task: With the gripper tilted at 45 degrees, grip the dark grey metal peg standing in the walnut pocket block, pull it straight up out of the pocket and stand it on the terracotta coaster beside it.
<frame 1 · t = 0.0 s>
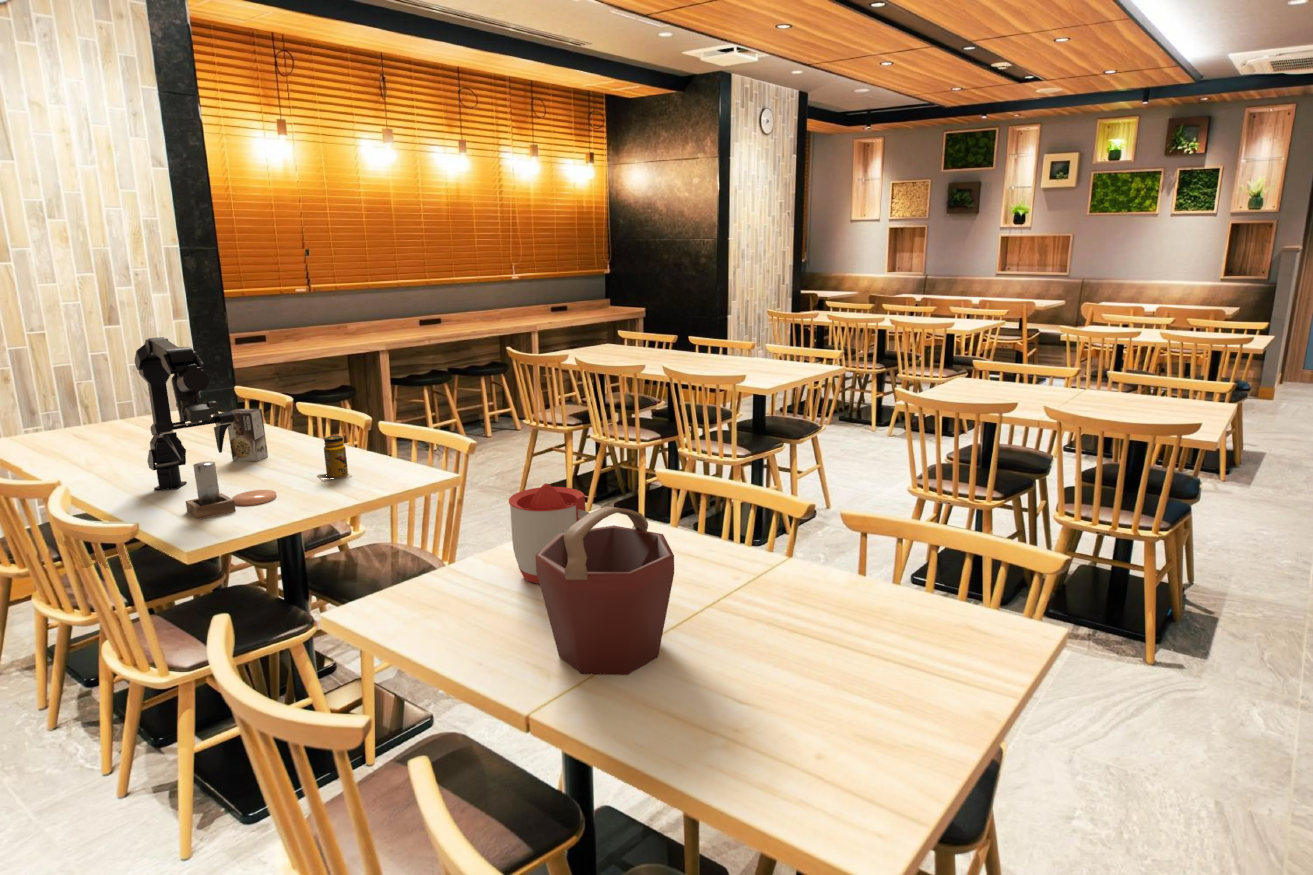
hand: (201, 456, 213), 15 cm above the table, tool pointing down, fingers open, 9 cm apart
citrus juicer: (554, 575, 174), on the table
condiment: (334, 477, 249), on the table
peg: (207, 487, 217), in the pocket block
pocket block: (211, 511, 218), on the table
coffee box: (250, 459, 271), on the table
bucket: (606, 651, 142), on the table
coaster: (254, 499, 228), on the table
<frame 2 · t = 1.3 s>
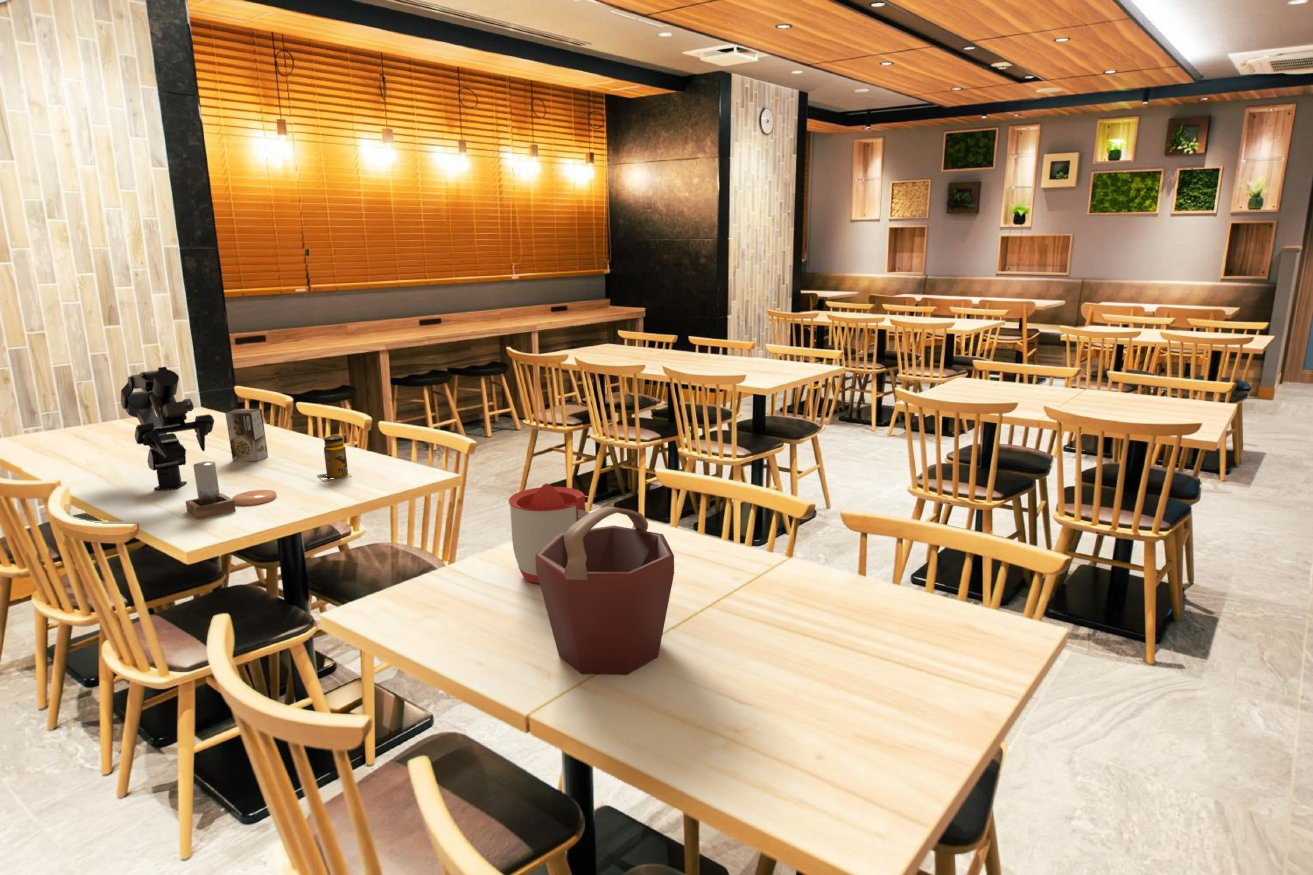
hand: (185, 453, 224), 13 cm above the table, tool tilted 45°, fingers open, 9 cm apart
nothing on the table moved.
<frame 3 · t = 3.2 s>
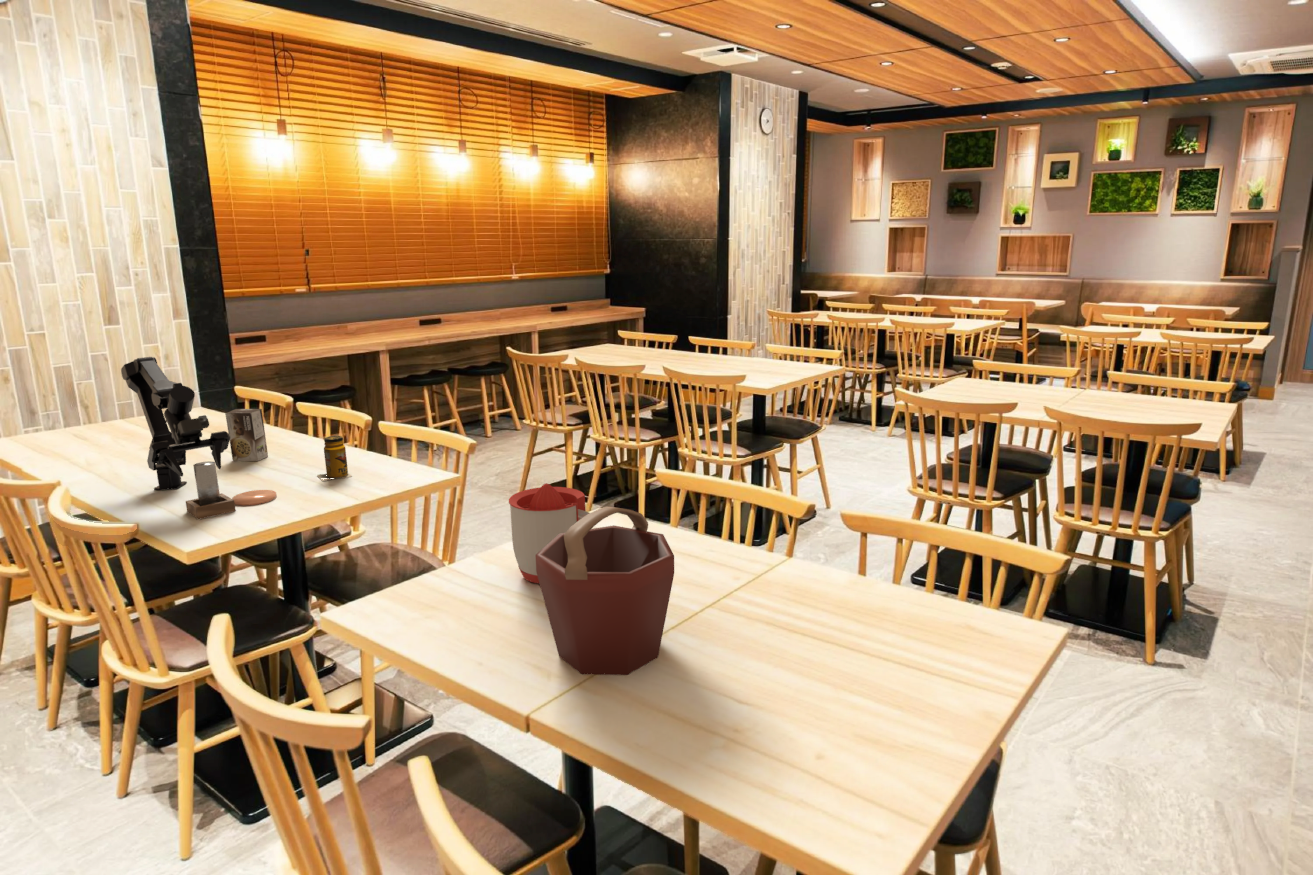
hand: (201, 471, 218), 10 cm above the table, tool tilted 45°, fingers open, 9 cm apart
nothing on the table moved.
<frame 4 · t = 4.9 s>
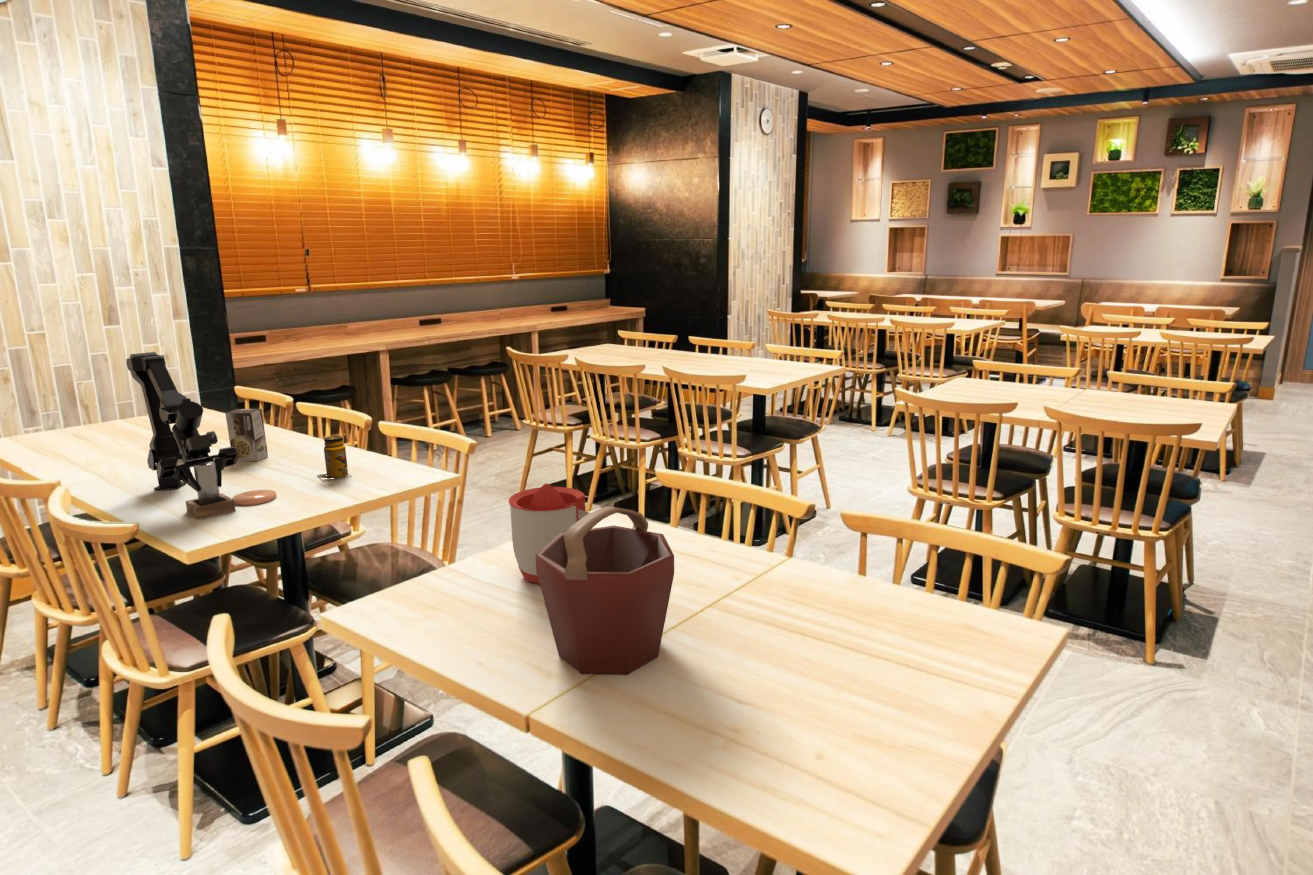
hand: (209, 488, 216), 7 cm above the table, tool tilted 45°, fingers closed on peg, 5 cm apart
peg: (207, 487, 217), in the pocket block, touching gripper
everything else where it was.
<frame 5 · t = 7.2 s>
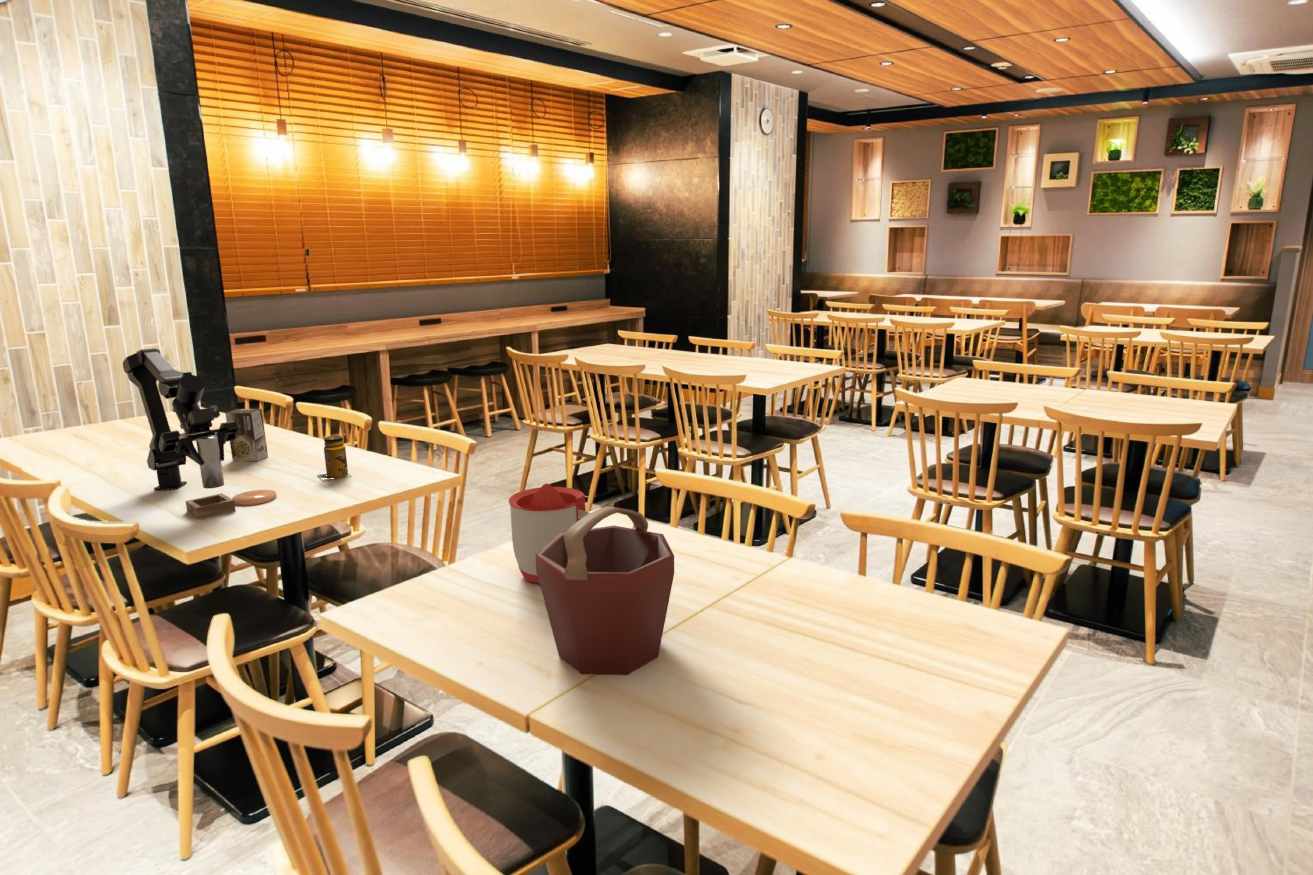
hand: (212, 462, 215), 13 cm above the table, tool tilted 45°, fingers closed on peg, 5 cm apart
peg: (210, 461, 216), point 13 cm above the table, touching gripper
everything else where it was.
when the fingers open (8 cm above the table, at t = 9.5 s): peg stays where it is, resting on coaster.
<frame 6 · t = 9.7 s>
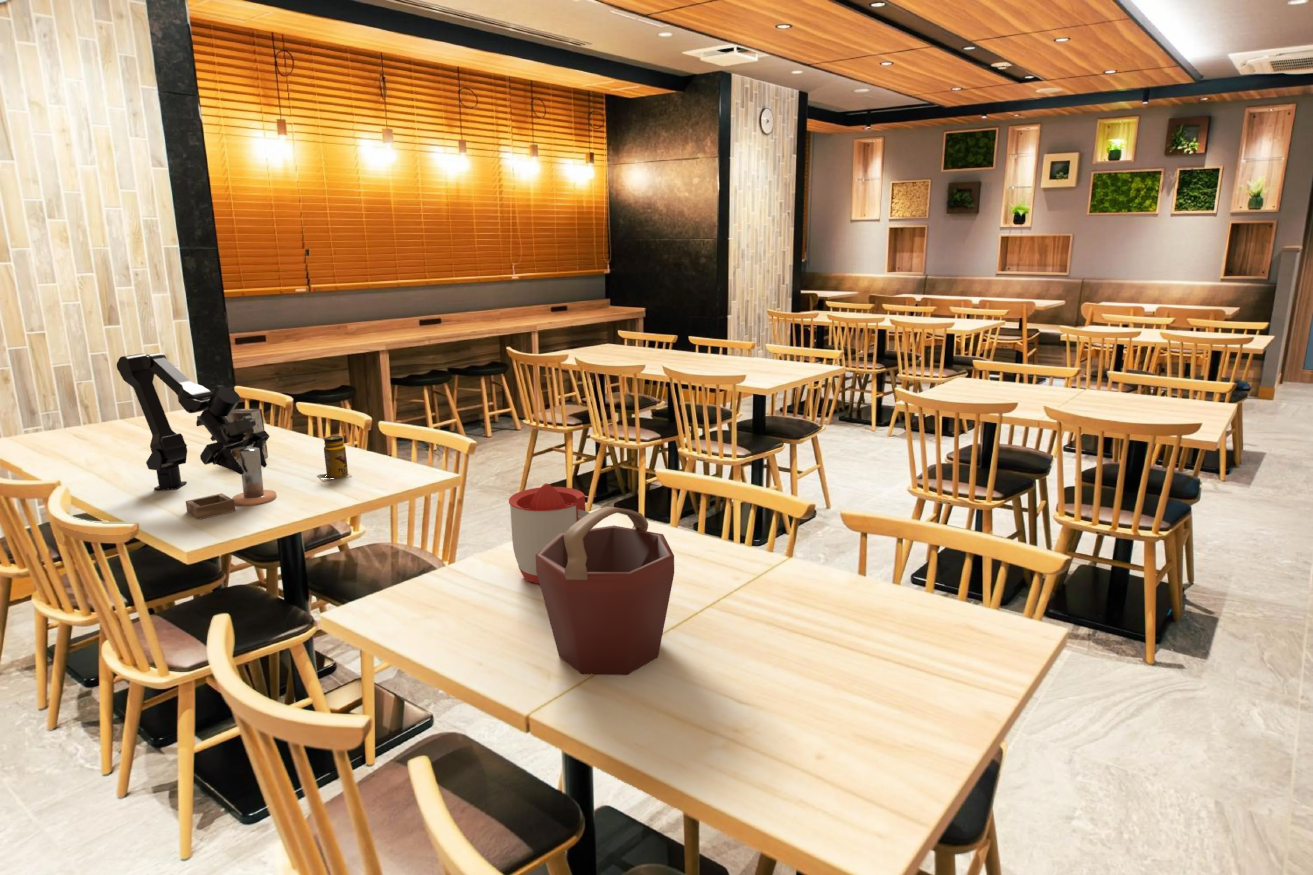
hand: (254, 469, 225), 9 cm above the table, tool tilted 45°, fingers open, 7 cm apart
peg: (251, 472, 226), on the coaster, point 8 cm above the table
everything else where it was.
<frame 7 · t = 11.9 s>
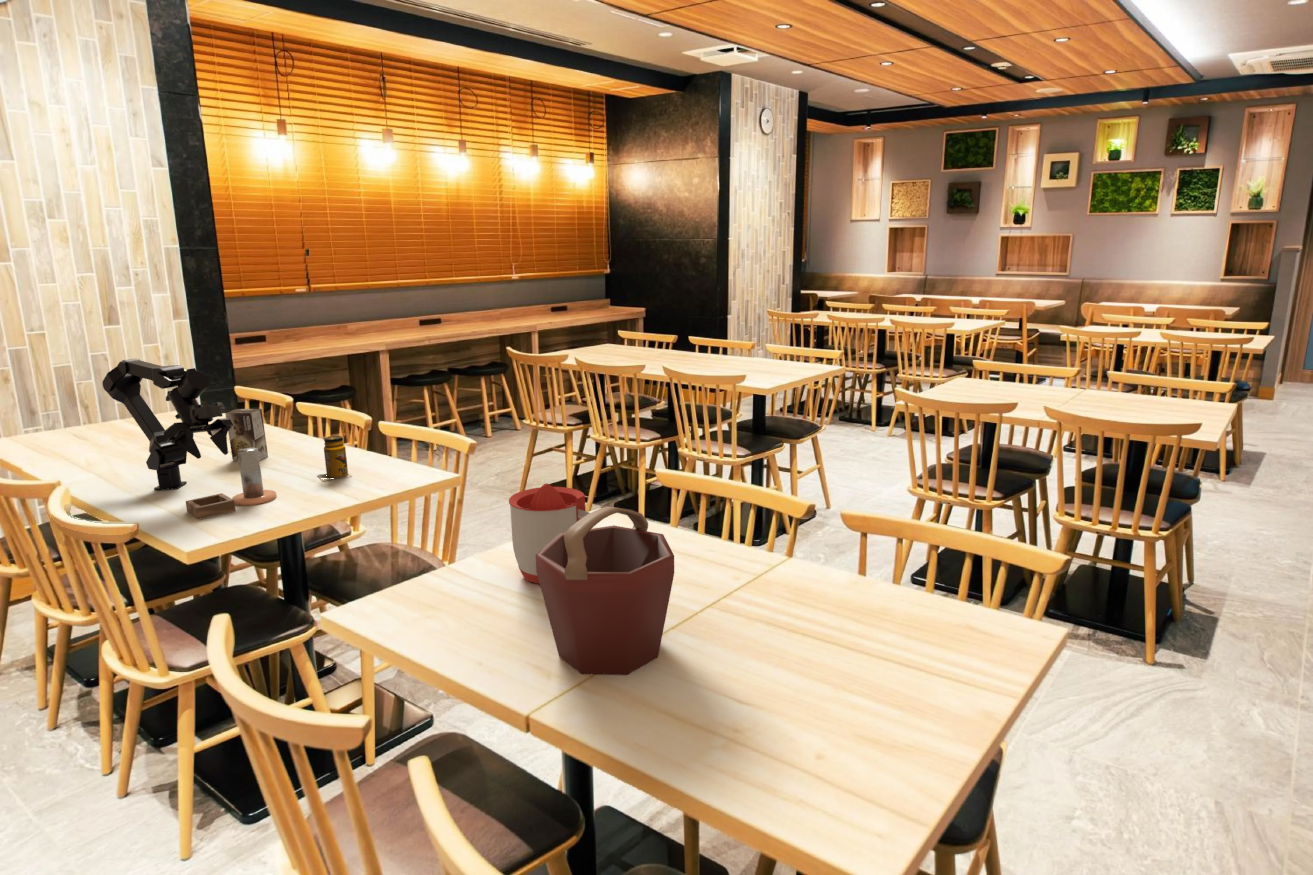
hand: (213, 456, 227), 12 cm above the table, tool tilted 35°, fingers open, 9 cm apart
nothing on the table moved.
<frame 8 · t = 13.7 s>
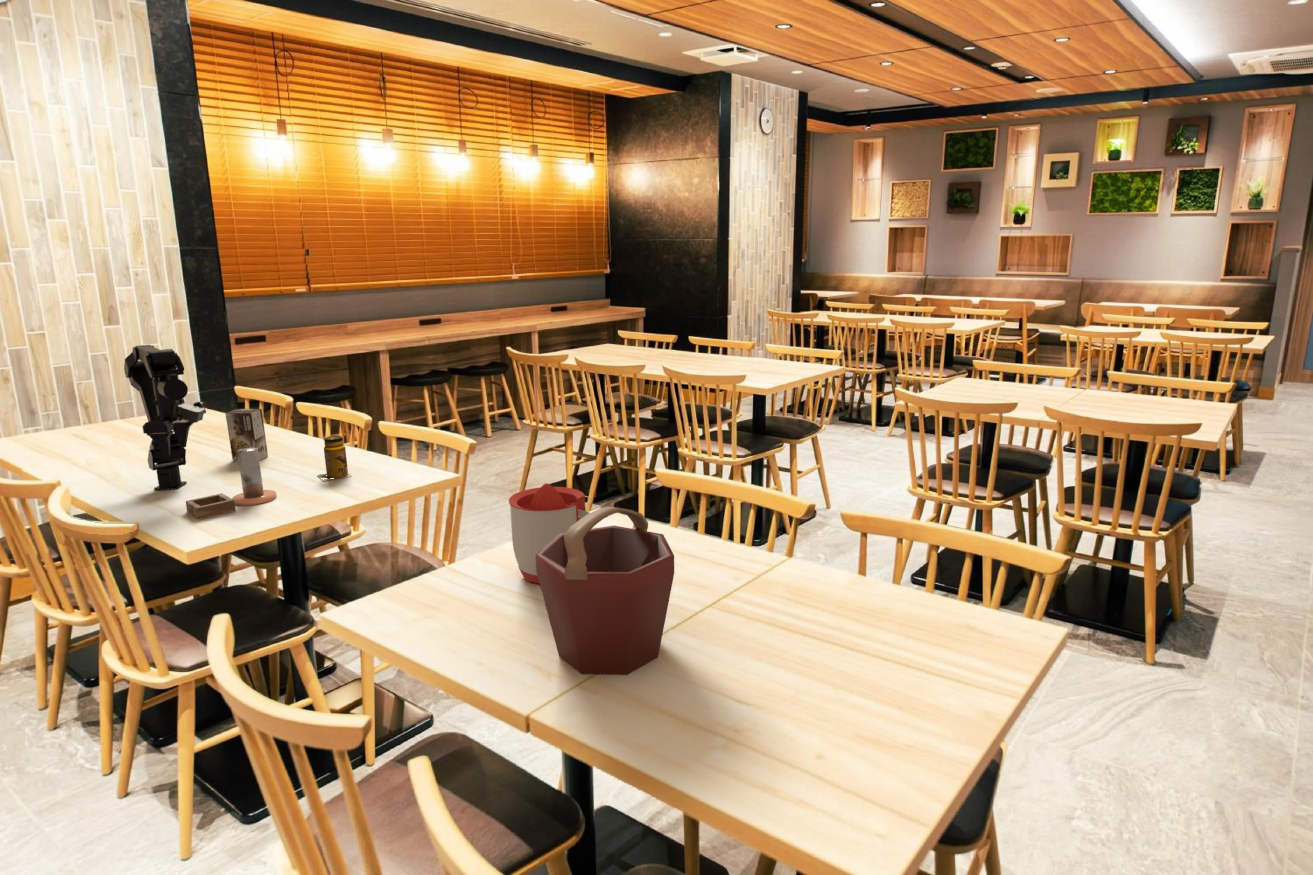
hand: (175, 451, 229), 13 cm above the table, tool pointing down, fingers open, 9 cm apart
nothing on the table moved.
at the end: peg 0.1 cm off-centre on the coaster, point 7.5 cm above the coaster's base; peg tilted 0°; the gripper is holding nothing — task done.
